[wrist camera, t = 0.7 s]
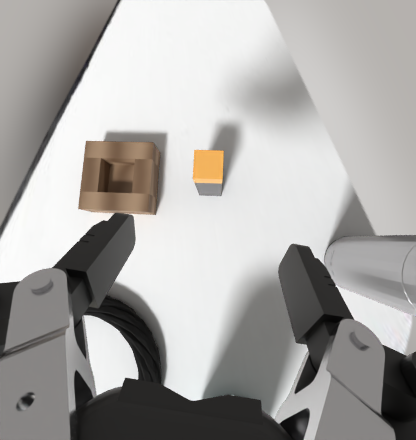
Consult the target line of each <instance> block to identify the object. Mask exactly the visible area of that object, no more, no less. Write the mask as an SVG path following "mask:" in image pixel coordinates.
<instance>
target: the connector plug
mask: <svg viewBox="0 0 416 440" xmlns="http://www.w3.org/2000/svg"><path fill="white" fill-rule="evenodd" d="M223 157H224V151H218V150H194V167H193V180H194V182H195V185H196V188H197V190H198V193H199V195H207V196H221V191H222V180H223Z"/></svg>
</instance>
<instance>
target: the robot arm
mask: <svg viewBox="0 0 416 440" xmlns="http://www.w3.org/2000/svg"><path fill="white" fill-rule="evenodd" d="M134 245H135V227H134V218H133V216H132V215H129V214H124V213H118V212H116V213H115V214H114V215H113V216H112V217H111V218H110V219H109V220H108V221H104V220H103V221H101V222H100V223H98V224H96V225H94V226H92V227H91V229H90V230H89V231H88V232H87V233H86V235H84V236H83V237H82V238H81V239H80V240H79V242H77V243H76V244H75V245H74V246H73V247H72V248H71V249H70V250H69V251H68V252H67V253H66V254H65V255H64V256H63V257H62V258H61V259H60V260H59V261H58V262H57V264H56V265H55V266H54V267H52V268H49V269H43V270H39V271H37V272H34V273H32V274H30V275H28V276H27V277H25V278H24V279H23V280H22V281H19V282H9V283H0V440H416V352H414V353H412V354H410V355H408V356H406V355H404V354H401V353H399V352H397V351H395V350H393V349H391V348H389V347H386V346H384V345H382V344H381V342H380V341H379V339H378V338H377V336H376V335H375V334H374V333H373V332H372V331H371V330H370V329H369V328H367V327H366V326H365V325H363V324H362V323H360V322H358V321H355V320H354V318H353V317H352V315H351V313H350V311H349V309H348V307H347V305H346V304H345V302H344V300H343V298H342V296H341V294H340V292H339V290H338V288H337V287H335V286H336V285H335V284H337V285H338V286H340V287H342V288H344V289H346V290H349V291H351V292H354V293H356V294H359V295H361V296H364V297H367V298H369V299H372V300H374V301H377V302H379V303H382V304H385V305H387V306H390V307H392V308H395V309H398V310H400V311H403V312H405V313H408V314H411V315H413V316H416V235H393V236H348V237H342V238H340V239H337V240H336V241H334V242H333V243H332V244H331V245H330V246H329V248H328V249H327V251H326V255H325V261H324V262H325V266H324V265H323V264H322V262H321V261H320V260H319V259H317V258H315V257H314V255H313V253H312V251H311V249H310V248H309V247H308V246H303V245H297V244H291V245H290V247H289V248H288V250H287V252H286V254H285V256H284V257H283V259H282V261H281V263H280V265H279V270H278V274H279V279H280V283H281V287H282V290H283V294H284V298H285V302H286V306H287V310H288V314H289V317H290V321H291V325H292V329H293V333H294V337H295V341H296V343H300V344H306V345H307V347H308V352H307V353H306V355H305V357H304V359H303V362H302V364H301V366H300V369H299V371H298V374H297V376H296V378H295V381H294V383H293V386H292V388H291V391H290V393H289V395H288V397H287V398H286V400H285V401H284V402H283V404H282V405H281V407H280V409H279V410H278V412H277V414H276V416H275V419H273V418H272V417H271V416H269V415H268V414H266V413H265V412H264V411H262V408H261V400H257V399H250V398H244V397H238V396H232V395H224V396H218V397H213V398H208V399H203V400H197V401H190V400H188V399H186V398H184V397H183V396H181V395H179V394H177V393H175V392H174V391H172V390H170V389H168V388H166V387H165V386H163V385H161V384H159V383H154V382H148V381H142V380H136V379H130V378H125V380H124V383H123V386H122V387H117V388H114V389H111V390H108V391H106V392H104V393H102V394H99V395H98V396H96V388H95V382H94V377H93V372H92V369H91V365H90V360H89V352H88V344H87V336H86V328H85V320H84V313H85V312H86V310H87V309H88V307H94V308H99V307H100V305H101V303H102V301H103V300H104V298H105V296H106V295H107V293H108V291H109V290H110V288H111V286H112V284H113V283H114V281H115V279H116V278H117V276H118V274H119V272H120V271H121V269H122V267H123V266H124V264H125V262H126V261H127V259H128V257H129V255H130V254H131V252H132V250H133V248H134Z"/></svg>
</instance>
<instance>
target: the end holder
mask: <svg viewBox="0 0 416 440" xmlns="http://www.w3.org/2000/svg"><path fill="white" fill-rule="evenodd" d="M159 163H160V152H159V150H158V149H157V147H156V146H155V144H154V143H153V142H108V141H86V145H85V154H84V163H83V172H82V180H81V189H80V198H79V207H78V209H81V210H86V211H90V212H102V213H116V212H118V213H126V214H150V215H156V204H157V190H158V177H159Z"/></svg>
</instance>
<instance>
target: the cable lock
mask: <svg viewBox="0 0 416 440" xmlns="http://www.w3.org/2000/svg"><path fill="white" fill-rule="evenodd" d="M84 315H91V316H95V317H99V318H100V319H102V320H104V321H106V322H107V323H109V324H111V325H112V326H114V327H115V328H116V329H118V330H119V331H120V333H121V334H122V335H123V337H124V338H125V339H126V341H127V342H128V343H129V345H130V347H131V348H132V350H133V353H134V357H135V360H136V363H137V367H138V372H139V376H138V380H142V381H148V382H154V383H159V384H161V366H160V365H161V363H160V357H159V351H158V347H157V345H156V343H155V341H154V338H153V336H152V333H151V331H150V330H149V329H148V327H147V326H146V324H145V323H144V321H143V320H142V319H141V318H140V317H139V316H138V315H137V314H136V313H135V312H134V310H133V309H132V308H130V307H129V306H127V305H126V304H124V303H123V302H121V301H119V300H116V299H113V298H111V297H109V296H108V295H106V296H105V298H104V300H103V301H102V303H101V305H100V307H99V308H94V307H88V309H87V310H86V312H85V313H84Z"/></svg>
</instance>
